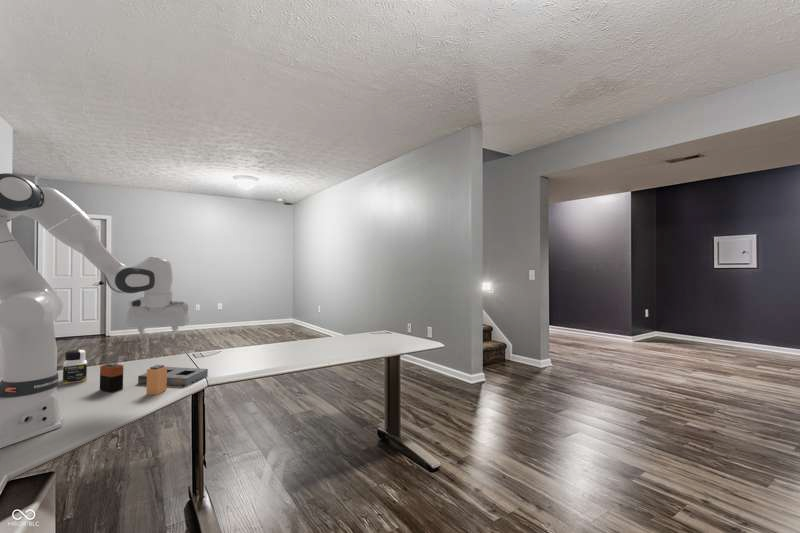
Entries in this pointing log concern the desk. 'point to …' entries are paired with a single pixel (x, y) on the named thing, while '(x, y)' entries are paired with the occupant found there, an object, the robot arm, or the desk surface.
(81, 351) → the medicine bottle
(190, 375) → the socket plate
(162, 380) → the plug
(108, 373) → the battery
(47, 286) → the robot arm
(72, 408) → the desk surface
